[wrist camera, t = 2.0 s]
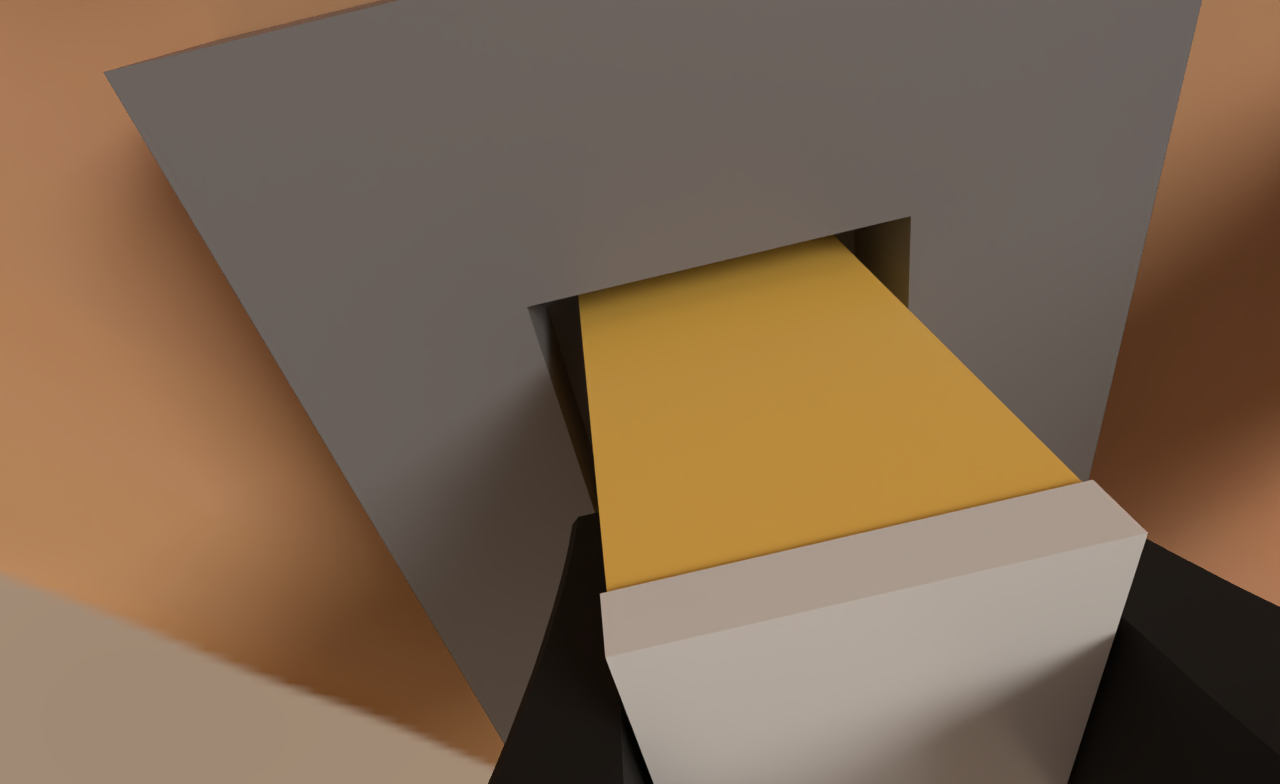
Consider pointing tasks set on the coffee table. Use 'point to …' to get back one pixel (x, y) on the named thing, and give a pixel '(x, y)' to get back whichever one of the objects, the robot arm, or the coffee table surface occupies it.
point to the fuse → (835, 538)
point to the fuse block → (644, 224)
